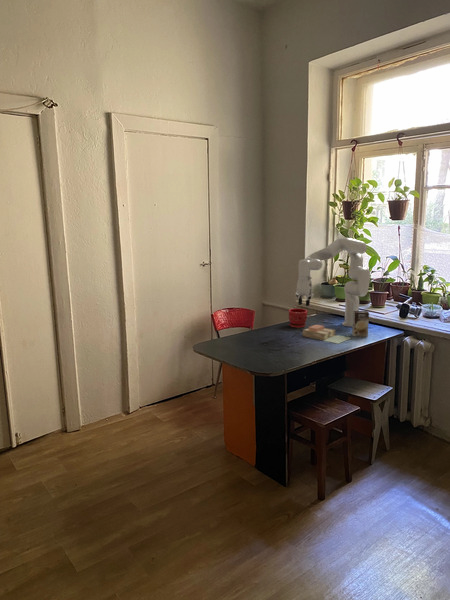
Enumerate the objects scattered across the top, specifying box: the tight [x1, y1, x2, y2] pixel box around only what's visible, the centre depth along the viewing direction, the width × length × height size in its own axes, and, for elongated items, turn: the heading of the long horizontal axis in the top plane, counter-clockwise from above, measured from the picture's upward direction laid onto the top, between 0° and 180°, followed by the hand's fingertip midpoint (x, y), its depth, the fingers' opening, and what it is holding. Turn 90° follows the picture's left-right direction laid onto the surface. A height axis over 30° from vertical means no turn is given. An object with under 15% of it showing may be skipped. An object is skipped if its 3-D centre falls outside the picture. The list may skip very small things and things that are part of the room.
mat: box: [322, 334, 352, 345], centre depth 284 cm, size 16×11×1 cm, turn 136°
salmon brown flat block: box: [308, 324, 325, 332], centre depth 293 cm, size 9×6×2 cm, turn 136°
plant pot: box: [288, 308, 308, 329], centre depth 317 cm, size 13×13×12 cm
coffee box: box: [351, 310, 370, 338], centre depth 290 cm, size 9×6×16 cm
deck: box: [302, 327, 336, 341], centre depth 293 cm, size 14×16×4 cm
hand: (303, 304), depth 298 cm, fingers open, 5 cm apart
